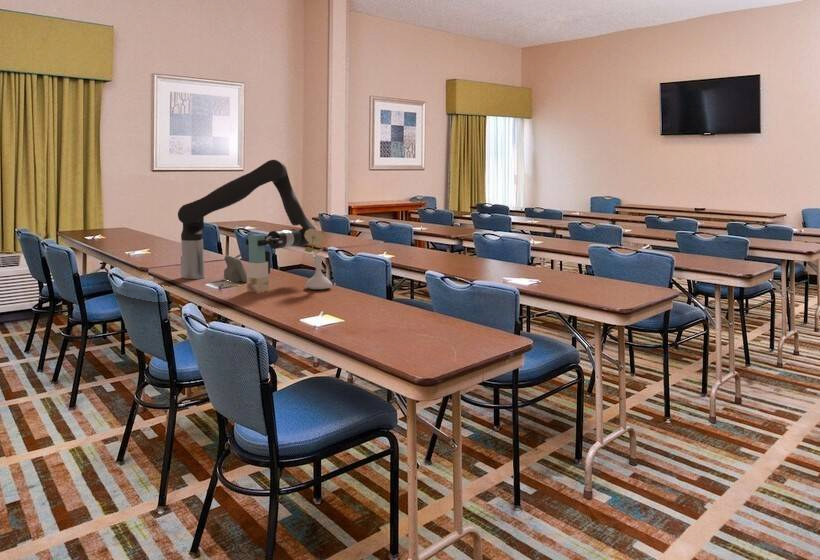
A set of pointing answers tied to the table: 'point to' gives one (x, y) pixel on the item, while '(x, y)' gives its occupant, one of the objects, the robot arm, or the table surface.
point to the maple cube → (258, 284)
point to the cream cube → (257, 270)
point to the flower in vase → (316, 262)
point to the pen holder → (267, 260)
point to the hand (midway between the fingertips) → (252, 242)
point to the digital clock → (234, 270)
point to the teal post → (256, 248)
